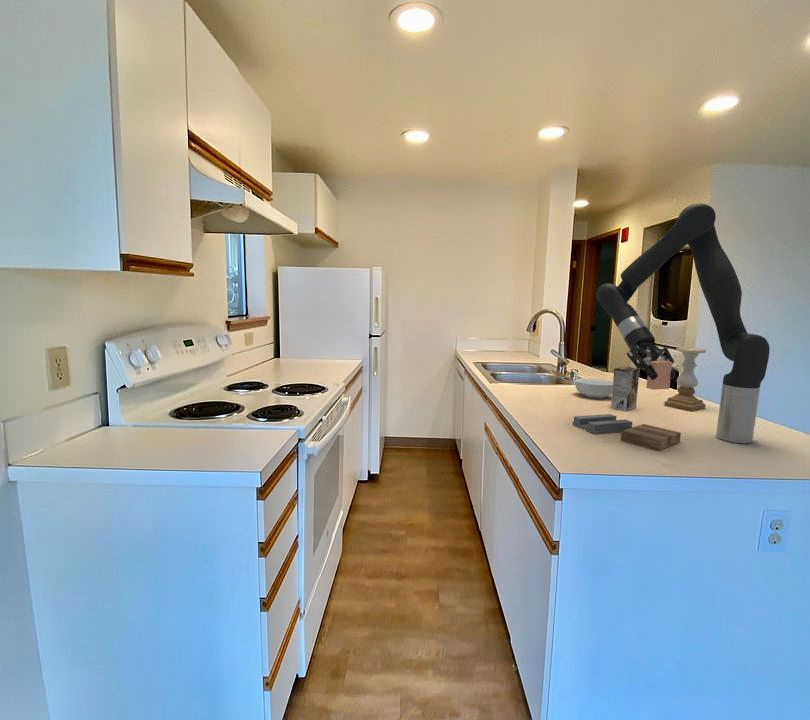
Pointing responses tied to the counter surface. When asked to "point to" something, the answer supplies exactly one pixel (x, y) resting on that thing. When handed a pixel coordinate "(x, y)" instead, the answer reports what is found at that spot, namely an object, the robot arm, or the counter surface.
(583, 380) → the cereal bowl
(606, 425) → the rack
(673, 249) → the robot arm
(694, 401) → the candle holder
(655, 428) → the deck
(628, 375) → the coffee box
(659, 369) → the tile
